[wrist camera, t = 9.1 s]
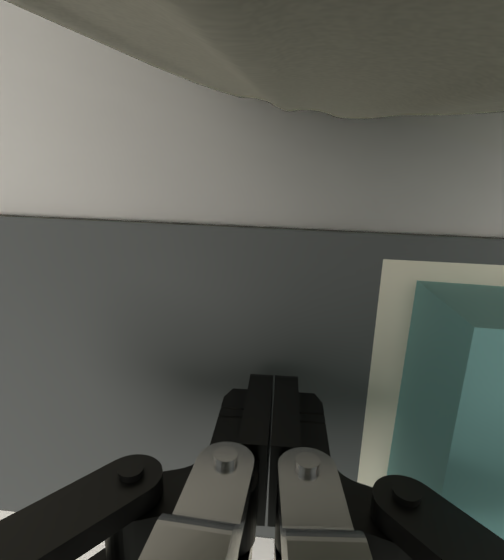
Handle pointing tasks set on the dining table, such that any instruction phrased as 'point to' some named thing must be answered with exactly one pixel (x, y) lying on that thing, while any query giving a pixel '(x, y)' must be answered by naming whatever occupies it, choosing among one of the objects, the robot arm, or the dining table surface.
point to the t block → (454, 398)
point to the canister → (312, 49)
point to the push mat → (201, 337)
